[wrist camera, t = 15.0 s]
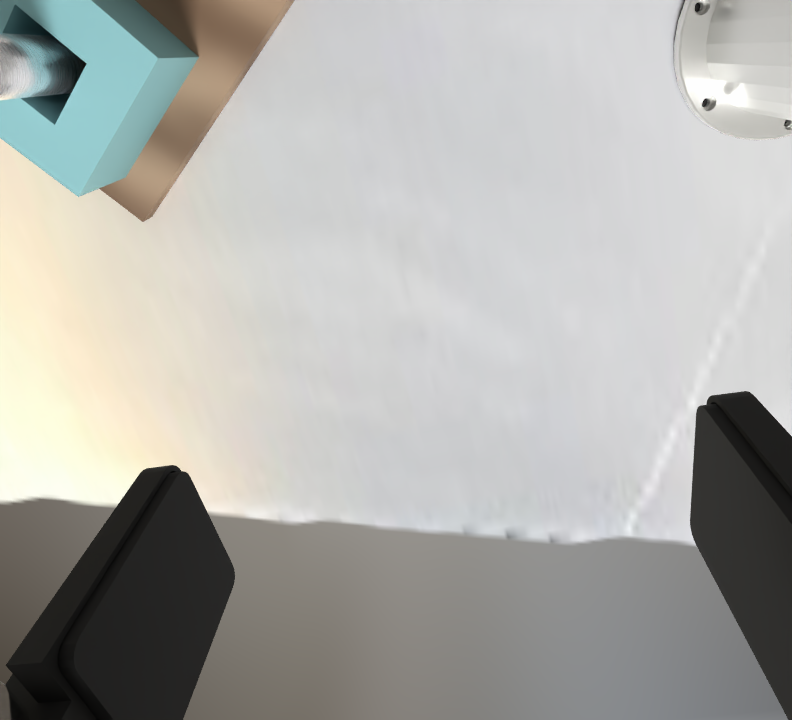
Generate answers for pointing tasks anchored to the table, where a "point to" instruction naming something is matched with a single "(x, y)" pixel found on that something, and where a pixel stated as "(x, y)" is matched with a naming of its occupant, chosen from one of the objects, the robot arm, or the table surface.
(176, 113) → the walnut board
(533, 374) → the table surface
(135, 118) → the teal socket
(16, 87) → the lock pin
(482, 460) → the table surface
